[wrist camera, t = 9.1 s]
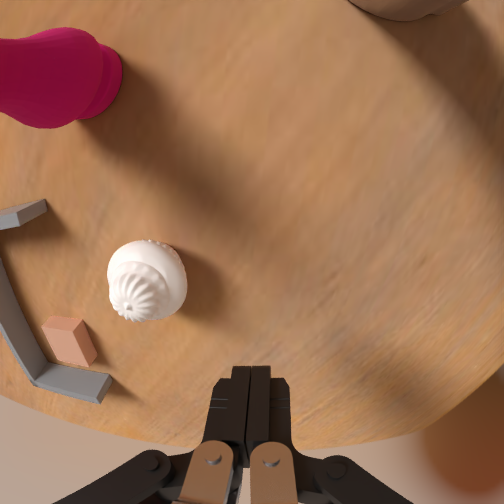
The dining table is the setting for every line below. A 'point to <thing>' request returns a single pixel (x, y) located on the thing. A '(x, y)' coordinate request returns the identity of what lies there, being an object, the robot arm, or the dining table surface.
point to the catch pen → (23, 341)
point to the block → (69, 340)
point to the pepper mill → (57, 77)
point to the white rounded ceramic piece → (146, 280)
